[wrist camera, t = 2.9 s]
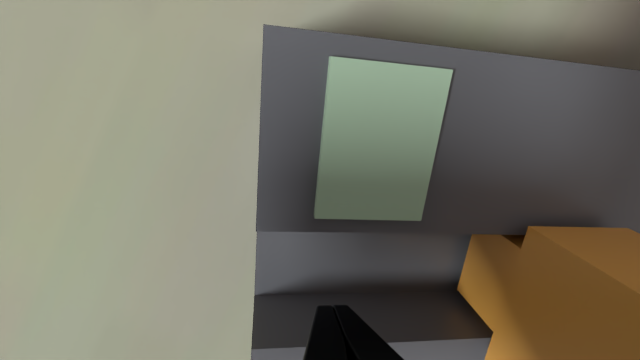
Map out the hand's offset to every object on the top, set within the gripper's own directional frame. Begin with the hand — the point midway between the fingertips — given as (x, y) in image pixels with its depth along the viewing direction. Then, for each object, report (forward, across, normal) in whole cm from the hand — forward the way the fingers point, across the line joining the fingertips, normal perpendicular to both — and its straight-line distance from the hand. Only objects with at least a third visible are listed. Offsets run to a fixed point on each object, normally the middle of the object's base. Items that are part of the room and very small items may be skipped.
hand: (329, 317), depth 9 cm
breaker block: (+5, -7, 0) cm, 9 cm away
